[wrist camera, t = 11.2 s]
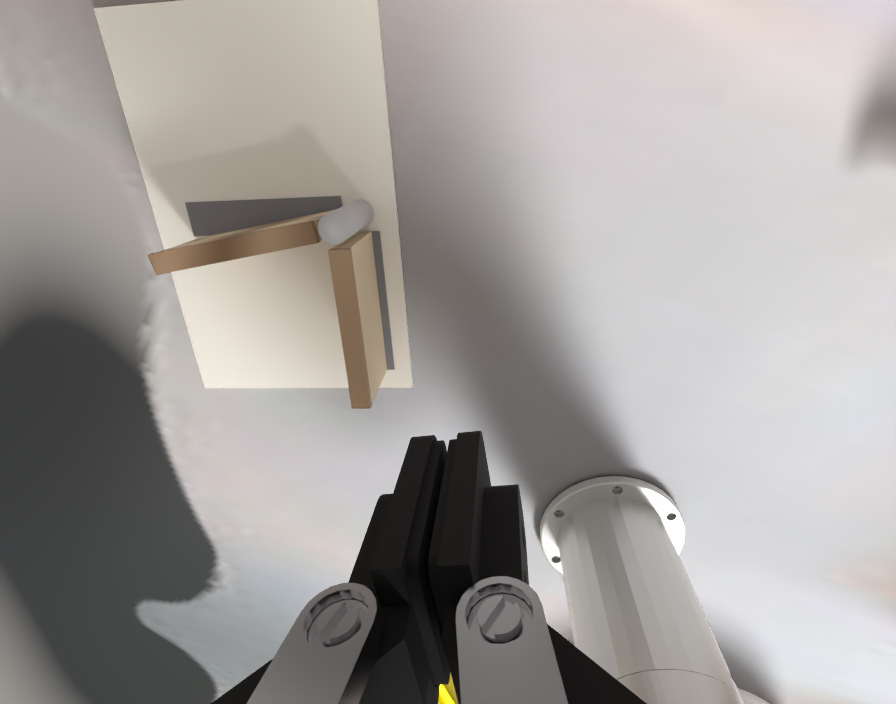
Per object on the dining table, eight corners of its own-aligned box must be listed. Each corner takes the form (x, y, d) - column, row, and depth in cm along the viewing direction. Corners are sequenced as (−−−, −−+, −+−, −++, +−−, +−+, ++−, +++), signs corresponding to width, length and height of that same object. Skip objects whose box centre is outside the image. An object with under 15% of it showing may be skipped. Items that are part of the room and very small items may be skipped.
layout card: (413, 385, 39) (397, 432, 33) (207, 385, 41) (156, 430, 35) (376, -16, 28) (343, -58, 22) (98, 9, 30) (-6, -24, 24)
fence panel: (338, 208, 33) (311, 221, 28) (344, 227, 34) (317, 242, 29) (197, 237, 35) (147, 255, 30) (204, 255, 35) (156, 274, 30)
